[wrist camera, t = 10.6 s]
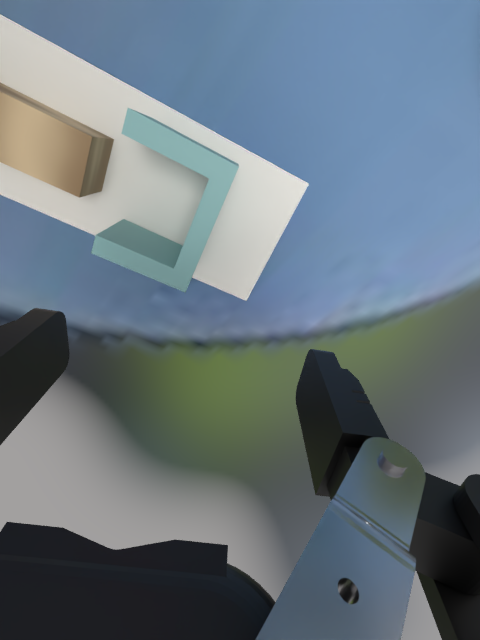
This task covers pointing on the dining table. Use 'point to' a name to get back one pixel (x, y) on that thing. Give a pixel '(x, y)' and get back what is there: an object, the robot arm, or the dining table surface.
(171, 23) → the dining table surface
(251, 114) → the dining table surface
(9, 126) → the slat
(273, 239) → the board
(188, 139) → the cap
